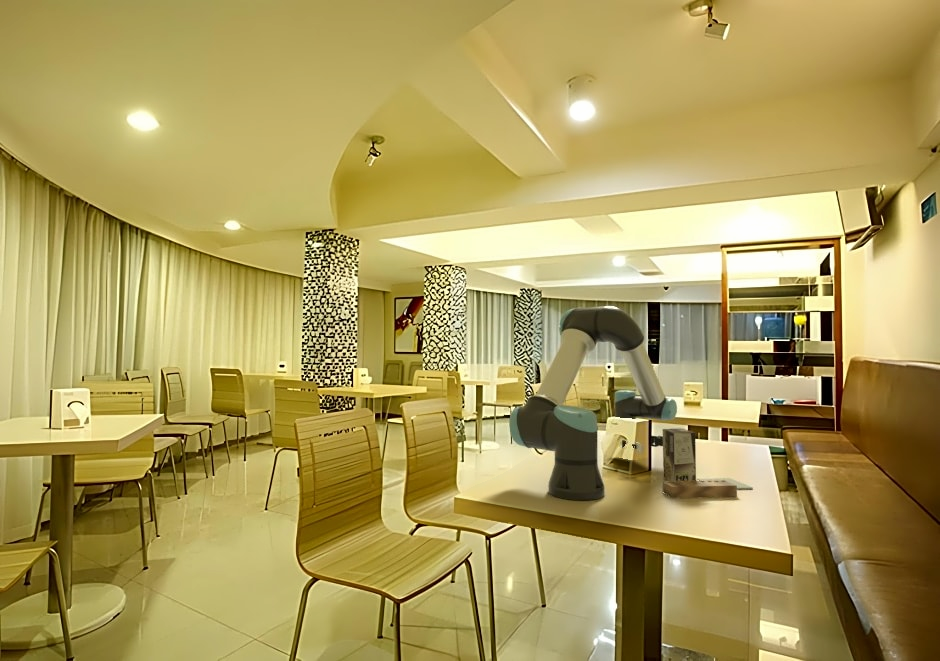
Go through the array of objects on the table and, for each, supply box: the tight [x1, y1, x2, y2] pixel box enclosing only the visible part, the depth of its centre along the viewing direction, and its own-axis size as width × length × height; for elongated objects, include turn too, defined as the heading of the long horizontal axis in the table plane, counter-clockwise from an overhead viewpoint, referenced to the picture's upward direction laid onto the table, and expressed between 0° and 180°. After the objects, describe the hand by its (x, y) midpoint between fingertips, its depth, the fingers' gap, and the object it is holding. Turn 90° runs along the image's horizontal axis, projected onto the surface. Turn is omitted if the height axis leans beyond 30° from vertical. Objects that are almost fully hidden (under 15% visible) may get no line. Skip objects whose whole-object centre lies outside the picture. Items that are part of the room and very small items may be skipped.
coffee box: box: [662, 428, 697, 482], centre depth 150 cm, size 9×6×16 cm
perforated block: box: [662, 479, 738, 499], centre depth 141 cm, size 18×6×3 cm, turn 95°
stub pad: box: [696, 477, 753, 490], centre depth 152 cm, size 10×11×1 cm
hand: (663, 448), depth 161 cm, fingers open, 13 cm apart
